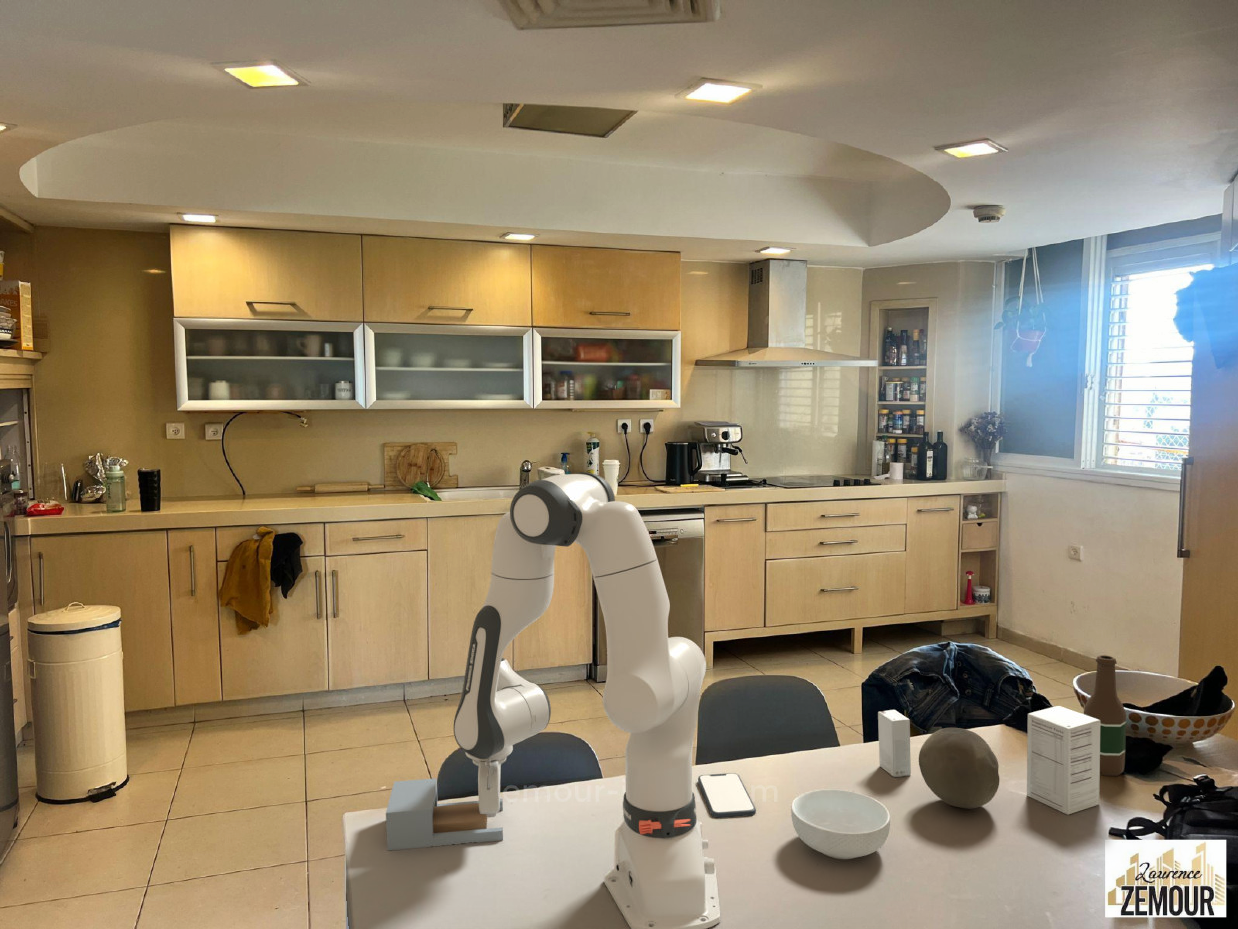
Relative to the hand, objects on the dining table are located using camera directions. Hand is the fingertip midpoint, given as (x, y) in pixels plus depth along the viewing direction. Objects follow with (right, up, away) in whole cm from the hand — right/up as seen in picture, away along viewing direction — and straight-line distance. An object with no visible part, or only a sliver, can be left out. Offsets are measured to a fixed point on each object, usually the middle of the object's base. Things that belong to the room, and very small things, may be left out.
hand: (491, 813), depth 163 cm
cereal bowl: (+63, -2, -11) cm, 64 cm away
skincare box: (+82, +1, +19) cm, 84 cm away
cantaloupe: (+90, 0, +3) cm, 90 cm away
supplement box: (+110, 0, +5) cm, 111 cm away
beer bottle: (+126, +2, +18) cm, 127 cm away
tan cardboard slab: (-6, -3, -1) cm, 6 cm away
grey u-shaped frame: (-8, -2, -1) cm, 8 cm away
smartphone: (+45, -1, +9) cm, 46 cm away
